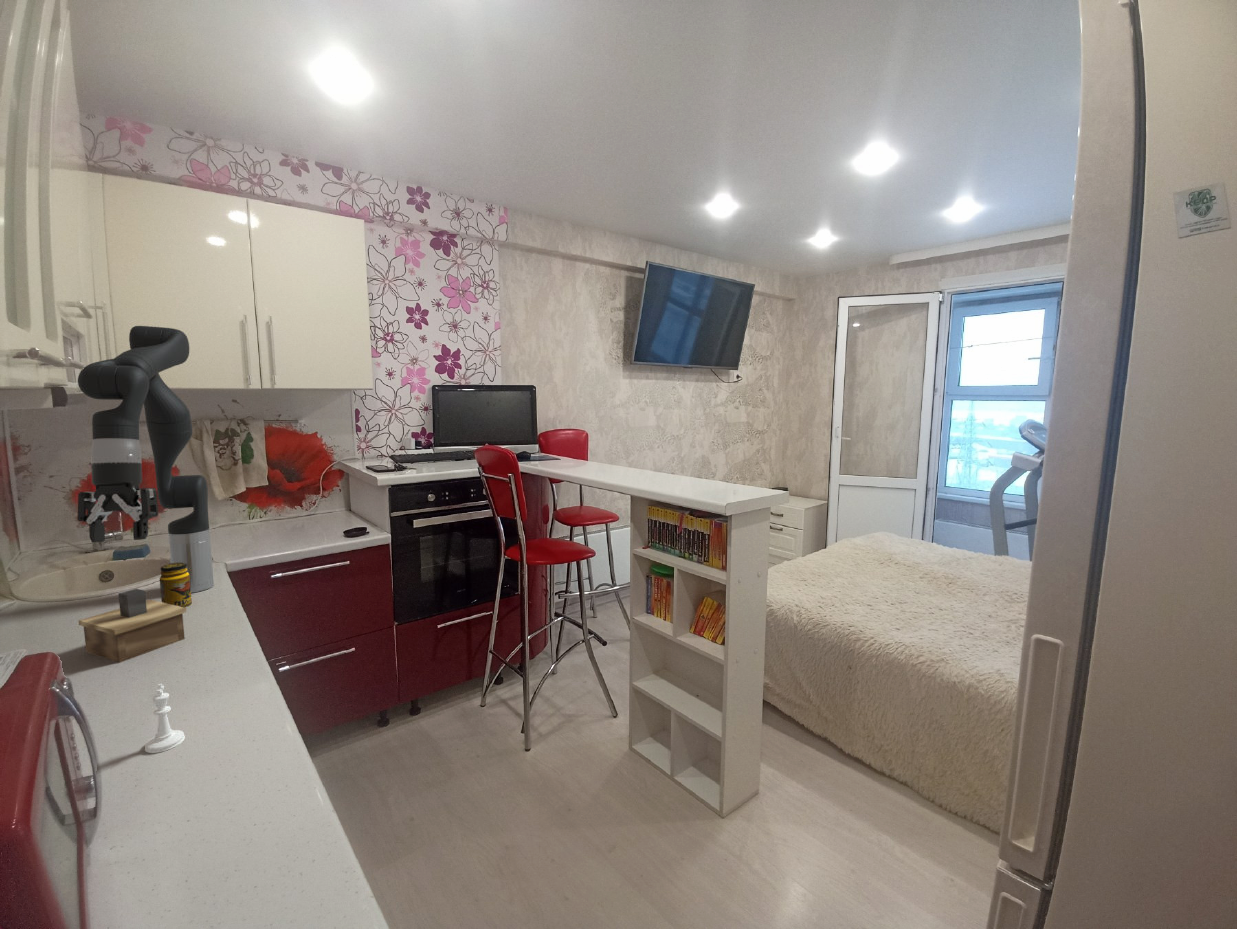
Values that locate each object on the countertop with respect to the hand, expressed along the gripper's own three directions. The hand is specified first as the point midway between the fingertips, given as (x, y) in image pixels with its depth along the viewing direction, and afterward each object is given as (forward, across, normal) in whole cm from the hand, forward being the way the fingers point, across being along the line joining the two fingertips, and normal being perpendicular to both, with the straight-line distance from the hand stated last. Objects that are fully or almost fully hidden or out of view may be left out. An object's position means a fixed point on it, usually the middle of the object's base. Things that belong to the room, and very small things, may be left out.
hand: (119, 540), depth 109 cm
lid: (+18, +5, -9) cm, 20 cm away
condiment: (+21, +16, -32) cm, 41 cm away
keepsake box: (+25, +6, -10) cm, 27 cm away
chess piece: (+32, -28, +23) cm, 48 cm away
